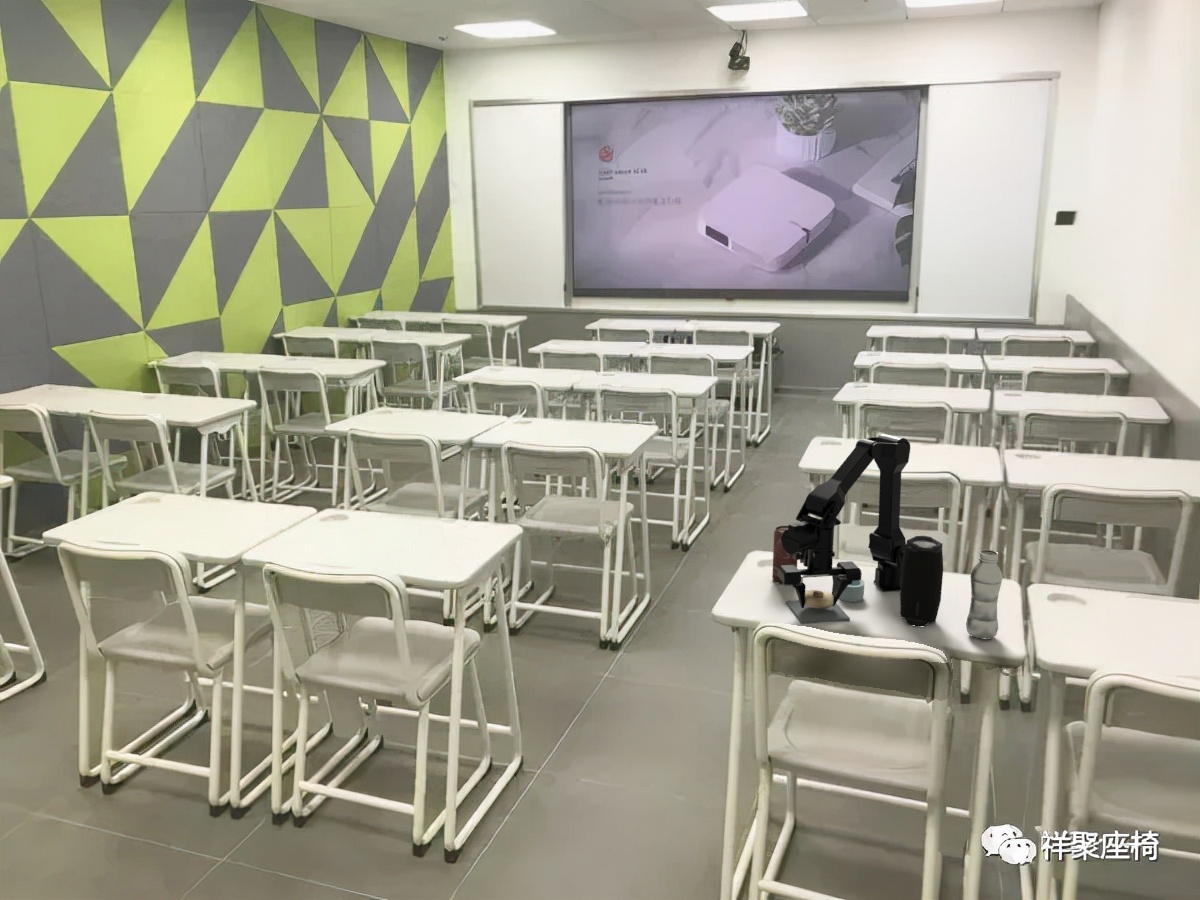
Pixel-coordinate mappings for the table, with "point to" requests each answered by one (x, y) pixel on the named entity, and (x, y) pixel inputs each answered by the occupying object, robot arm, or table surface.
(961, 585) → the table surface
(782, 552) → the can
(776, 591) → the table surface
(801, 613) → the mat
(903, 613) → the portable speaker
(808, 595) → the lid
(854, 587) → the bowl
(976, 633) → the plastic bottle
